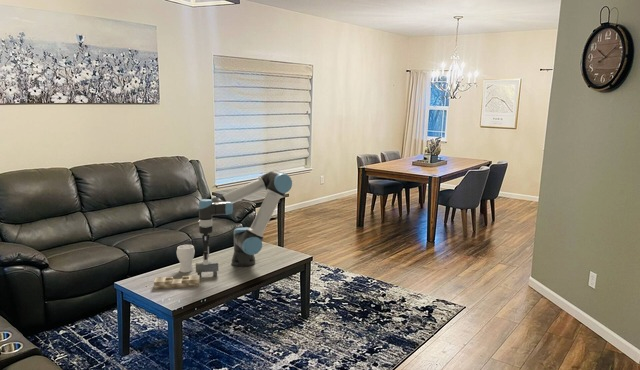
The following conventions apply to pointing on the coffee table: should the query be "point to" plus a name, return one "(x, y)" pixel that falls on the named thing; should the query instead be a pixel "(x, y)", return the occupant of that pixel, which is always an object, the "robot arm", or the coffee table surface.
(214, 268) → the grey block
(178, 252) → the cup
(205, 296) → the coffee table surface
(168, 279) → the rail
